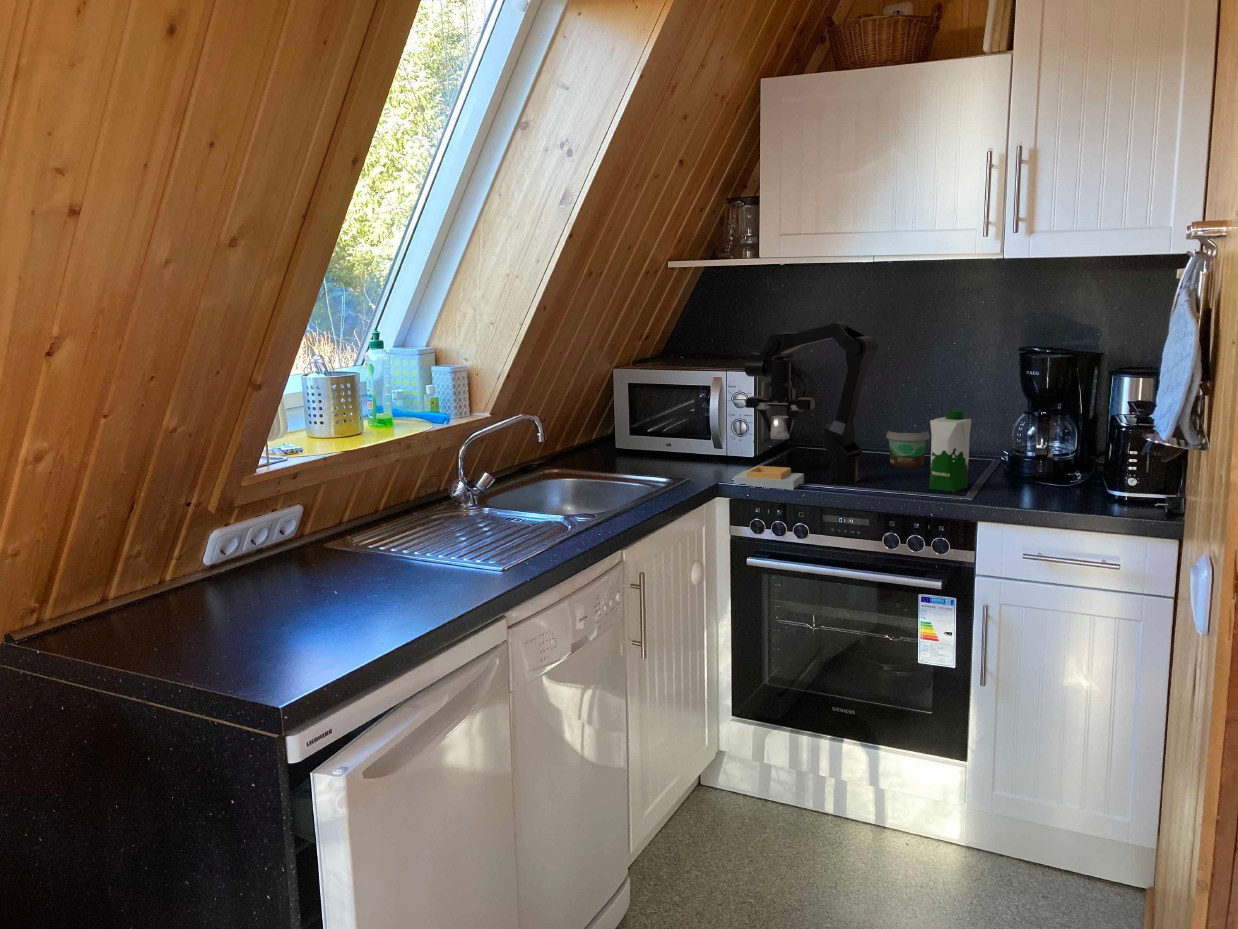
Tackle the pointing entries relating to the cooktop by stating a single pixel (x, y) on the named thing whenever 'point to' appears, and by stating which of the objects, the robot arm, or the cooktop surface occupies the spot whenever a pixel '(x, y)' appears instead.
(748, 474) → the grey slab with frame
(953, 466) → the milk carton
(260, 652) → the cooktop surface
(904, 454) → the food container
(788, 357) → the robot arm
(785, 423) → the steel can
